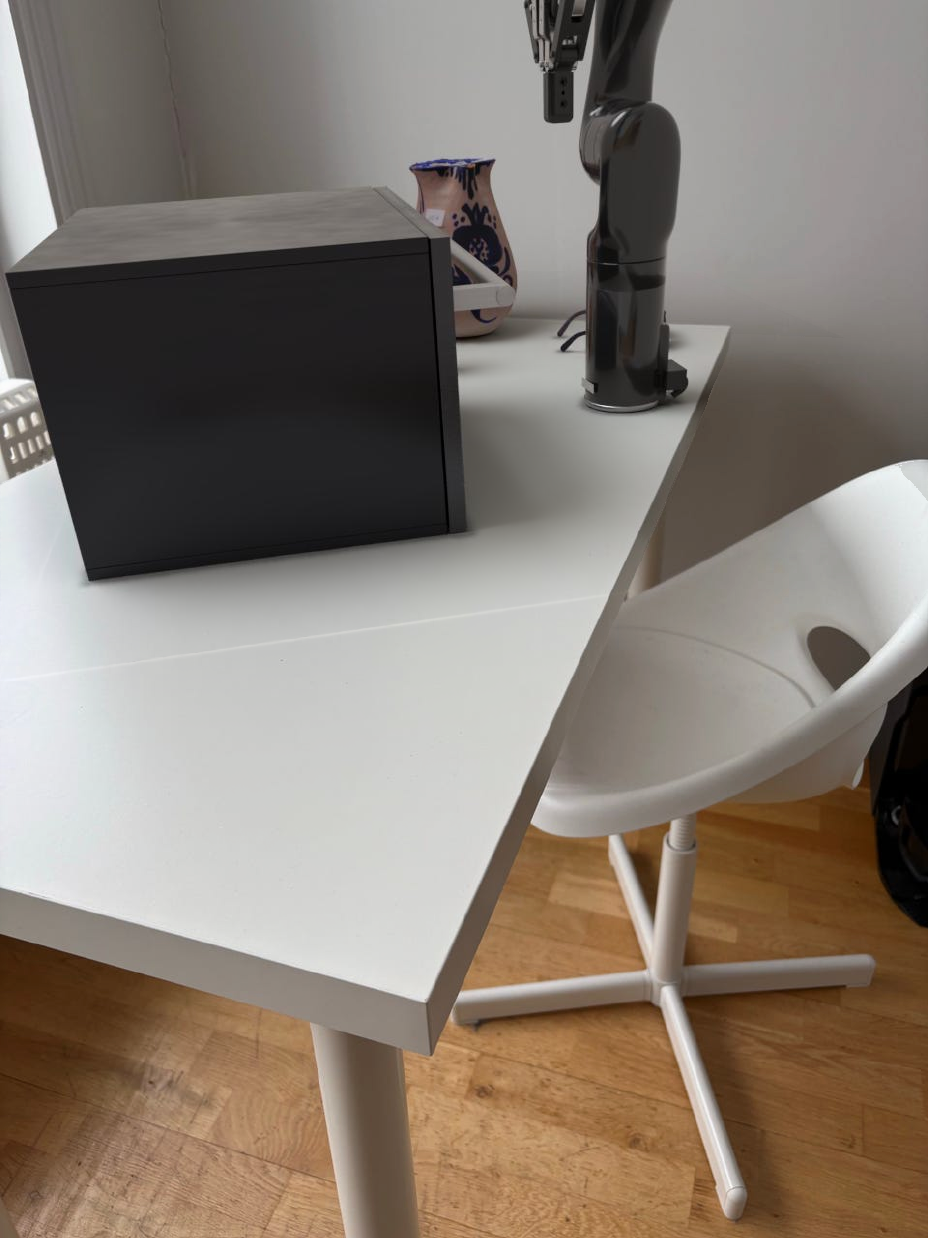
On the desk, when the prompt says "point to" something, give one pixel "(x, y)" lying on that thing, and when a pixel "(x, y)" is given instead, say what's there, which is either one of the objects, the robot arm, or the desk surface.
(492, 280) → the oven door
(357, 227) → the oven
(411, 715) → the desk surface
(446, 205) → the ceramic pitcher
